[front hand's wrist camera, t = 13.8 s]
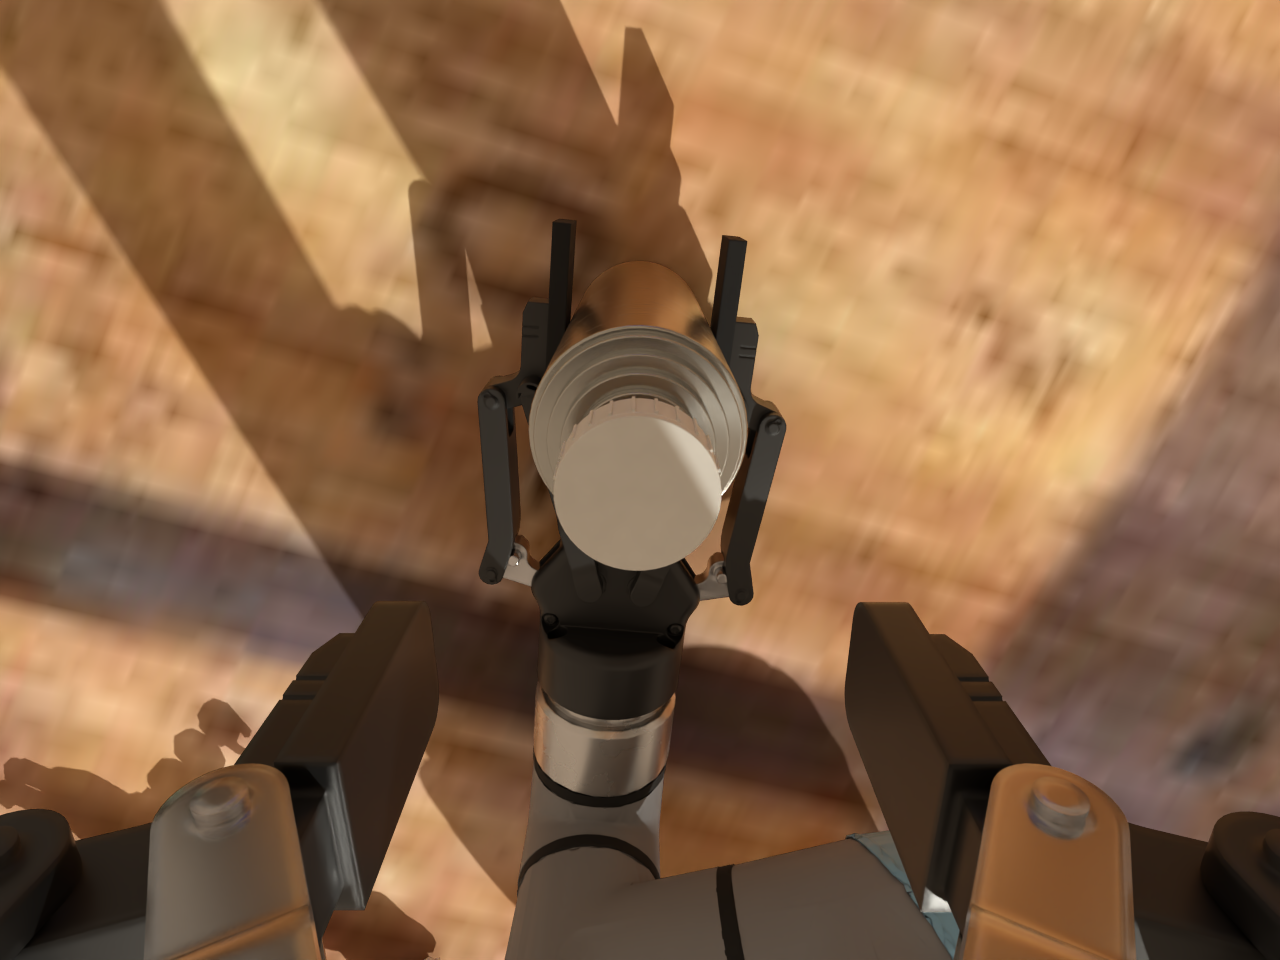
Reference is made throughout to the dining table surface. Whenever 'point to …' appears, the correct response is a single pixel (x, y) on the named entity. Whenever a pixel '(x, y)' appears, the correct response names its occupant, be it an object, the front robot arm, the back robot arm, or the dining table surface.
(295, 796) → the front robot arm
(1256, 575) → the dining table surface
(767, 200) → the dining table surface
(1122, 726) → the dining table surface
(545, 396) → the bottle
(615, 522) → the cap
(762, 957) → the back robot arm
